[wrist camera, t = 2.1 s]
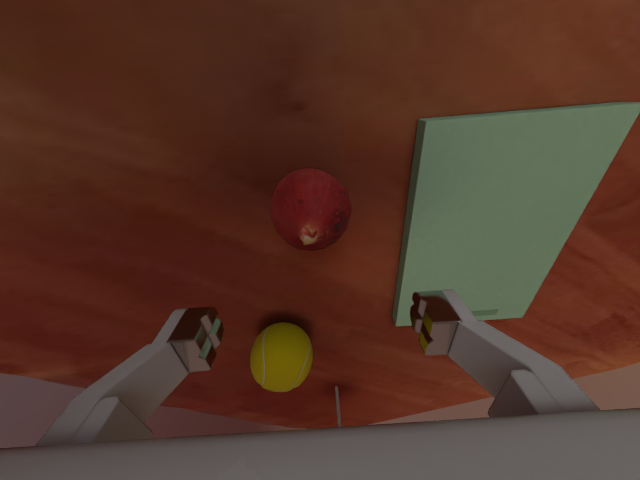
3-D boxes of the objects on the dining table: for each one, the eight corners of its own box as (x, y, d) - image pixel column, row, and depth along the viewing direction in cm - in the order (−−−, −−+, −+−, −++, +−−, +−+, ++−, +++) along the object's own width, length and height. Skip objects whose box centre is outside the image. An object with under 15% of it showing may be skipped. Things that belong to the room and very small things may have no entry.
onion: (350, 162, 19) (372, 201, 12) (337, 224, 22) (349, 282, 15) (279, 152, 19) (260, 186, 12) (275, 217, 22) (258, 274, 15)
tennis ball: (319, 316, 29) (321, 374, 23) (304, 349, 32) (302, 407, 27) (262, 305, 28) (248, 364, 22) (253, 341, 31) (239, 400, 25)
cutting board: (417, 118, 18) (426, 121, 16) (621, 101, 17) (647, 102, 16) (391, 316, 29) (395, 327, 28) (513, 307, 29) (523, 318, 28)
